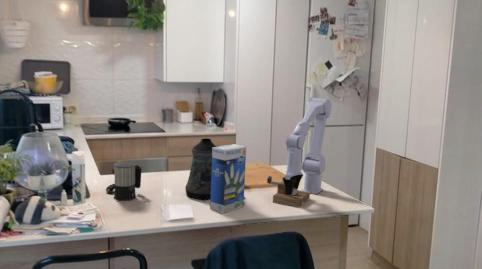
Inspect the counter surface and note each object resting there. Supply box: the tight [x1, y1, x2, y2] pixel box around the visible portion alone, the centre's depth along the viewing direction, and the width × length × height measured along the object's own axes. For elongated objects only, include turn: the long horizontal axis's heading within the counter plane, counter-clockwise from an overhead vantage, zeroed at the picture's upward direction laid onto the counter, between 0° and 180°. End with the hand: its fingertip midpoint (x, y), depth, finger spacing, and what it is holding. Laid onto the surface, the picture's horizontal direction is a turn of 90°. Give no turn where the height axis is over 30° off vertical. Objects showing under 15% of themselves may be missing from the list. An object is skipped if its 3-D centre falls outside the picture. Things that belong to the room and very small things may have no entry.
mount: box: [272, 180, 311, 208], centre depth 213 cm, size 14×12×7 cm
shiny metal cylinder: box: [288, 188, 297, 196], centre depth 213 cm, size 4×4×6 cm
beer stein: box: [185, 138, 217, 201], centre depth 215 cm, size 16×19×25 cm
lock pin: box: [266, 175, 284, 186], centre depth 215 cm, size 2×8×3 cm, turn 64°
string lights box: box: [209, 143, 247, 214], centre depth 197 cm, size 13×8×26 cm, turn 139°
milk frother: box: [105, 161, 142, 202], centre depth 208 cm, size 14×16×15 cm
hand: (292, 191), depth 213 cm, fingers open, 7 cm apart
